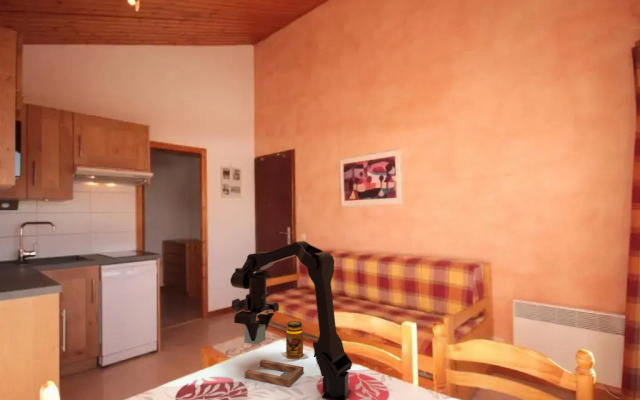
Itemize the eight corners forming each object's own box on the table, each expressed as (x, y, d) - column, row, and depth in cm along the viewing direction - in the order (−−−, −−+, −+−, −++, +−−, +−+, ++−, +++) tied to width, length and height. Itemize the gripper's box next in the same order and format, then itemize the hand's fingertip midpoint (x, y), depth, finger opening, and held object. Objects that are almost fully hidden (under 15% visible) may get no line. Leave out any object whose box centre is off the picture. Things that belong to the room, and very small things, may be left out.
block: (265, 339, 118) (265, 324, 118) (257, 344, 113) (257, 329, 113) (252, 337, 120) (252, 322, 120) (244, 342, 115) (244, 327, 115)
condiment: (289, 361, 122) (289, 326, 122) (280, 353, 129) (280, 320, 130) (308, 357, 125) (308, 323, 126) (298, 349, 133) (298, 317, 133)
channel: (303, 373, 112) (303, 366, 113) (289, 387, 103) (289, 380, 103) (262, 365, 118) (262, 359, 119) (244, 378, 109) (244, 371, 109)
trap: (296, 374, 112) (296, 373, 112) (286, 383, 106) (286, 382, 106) (284, 372, 113) (284, 371, 113) (274, 381, 107) (274, 379, 107)
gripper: (253, 284, 129) (252, 327, 128) (220, 294, 111) (219, 344, 111) (279, 286, 124) (279, 331, 124) (249, 297, 107) (249, 349, 106)
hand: (257, 338), depth 116 cm, fingers closed on block, 5 cm apart
